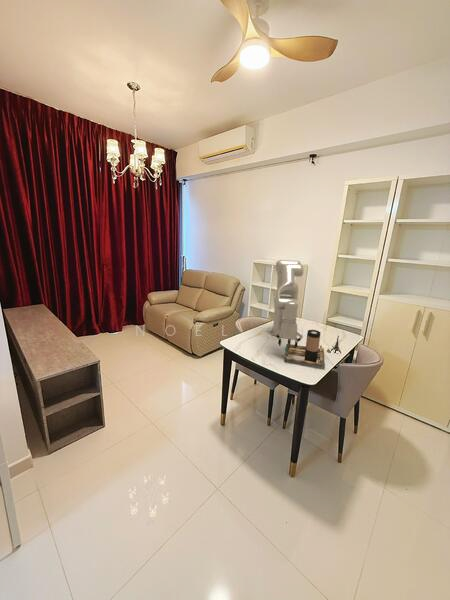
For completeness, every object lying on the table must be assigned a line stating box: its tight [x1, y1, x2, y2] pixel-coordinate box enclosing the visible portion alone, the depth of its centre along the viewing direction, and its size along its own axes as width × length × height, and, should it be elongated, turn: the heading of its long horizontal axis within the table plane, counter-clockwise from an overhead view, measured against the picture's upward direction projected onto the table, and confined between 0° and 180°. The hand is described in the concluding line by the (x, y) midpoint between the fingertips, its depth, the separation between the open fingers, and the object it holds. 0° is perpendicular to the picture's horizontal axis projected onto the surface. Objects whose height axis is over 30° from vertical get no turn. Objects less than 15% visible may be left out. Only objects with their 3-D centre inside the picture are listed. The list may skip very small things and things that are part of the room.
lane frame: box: [283, 347, 326, 371], centre depth 160 cm, size 24×26×2 cm
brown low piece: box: [283, 343, 323, 366], centre depth 154 cm, size 22×12×8 cm, turn 70°
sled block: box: [286, 339, 323, 355], centre depth 166 cm, size 22×9×8 cm, turn 70°
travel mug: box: [304, 329, 321, 363], centre depth 151 cm, size 8×8×20 cm
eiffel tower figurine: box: [326, 334, 342, 354], centre depth 168 cm, size 15×10×13 cm
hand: (287, 346), depth 156 cm, fingers open, 9 cm apart
